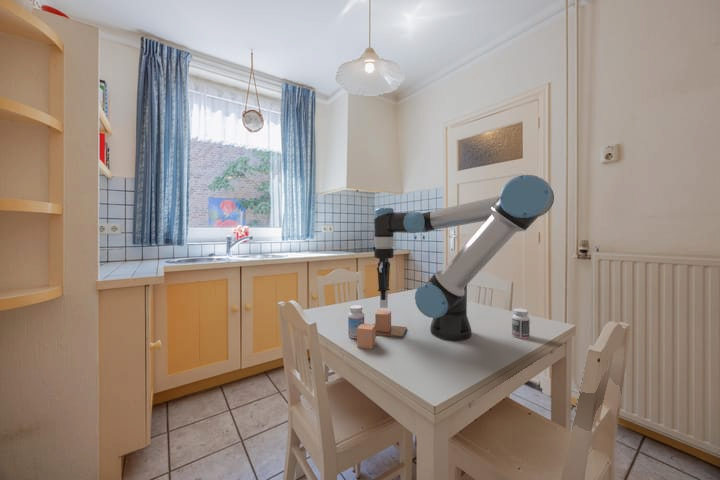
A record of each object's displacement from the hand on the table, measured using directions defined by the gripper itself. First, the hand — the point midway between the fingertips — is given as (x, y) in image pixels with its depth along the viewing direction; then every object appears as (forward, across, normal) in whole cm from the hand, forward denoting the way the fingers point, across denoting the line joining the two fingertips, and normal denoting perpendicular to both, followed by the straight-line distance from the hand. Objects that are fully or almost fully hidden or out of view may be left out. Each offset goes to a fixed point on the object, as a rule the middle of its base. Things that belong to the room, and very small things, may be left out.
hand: (383, 307), depth 114 cm
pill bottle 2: (+10, -9, +50) cm, 52 cm away
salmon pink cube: (+9, 0, 0) cm, 9 cm away
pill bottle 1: (+10, +8, -9) cm, 15 cm away
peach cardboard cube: (+10, +15, -3) cm, 18 cm away
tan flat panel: (+10, 0, 0) cm, 10 cm away
